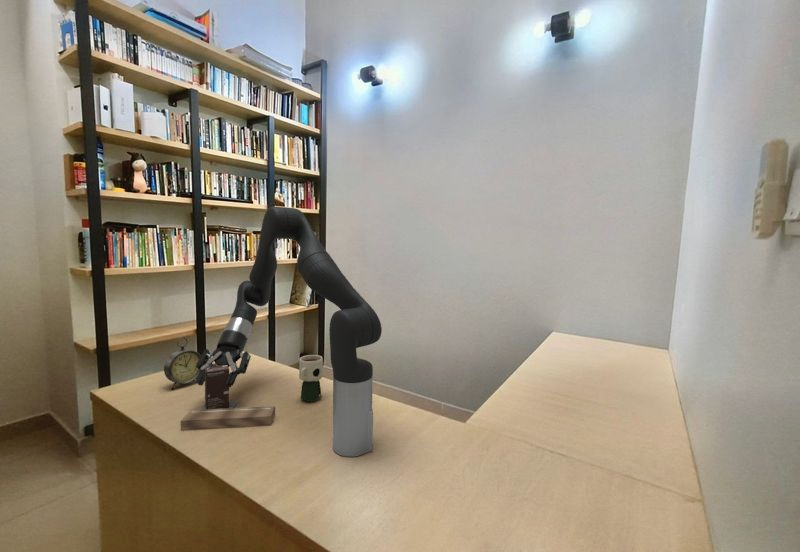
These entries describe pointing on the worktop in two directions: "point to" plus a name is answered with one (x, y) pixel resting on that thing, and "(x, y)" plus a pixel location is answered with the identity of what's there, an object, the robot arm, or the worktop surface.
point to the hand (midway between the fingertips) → (213, 385)
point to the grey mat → (231, 405)
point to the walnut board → (228, 418)
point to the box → (216, 387)
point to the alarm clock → (182, 366)
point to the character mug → (310, 376)
